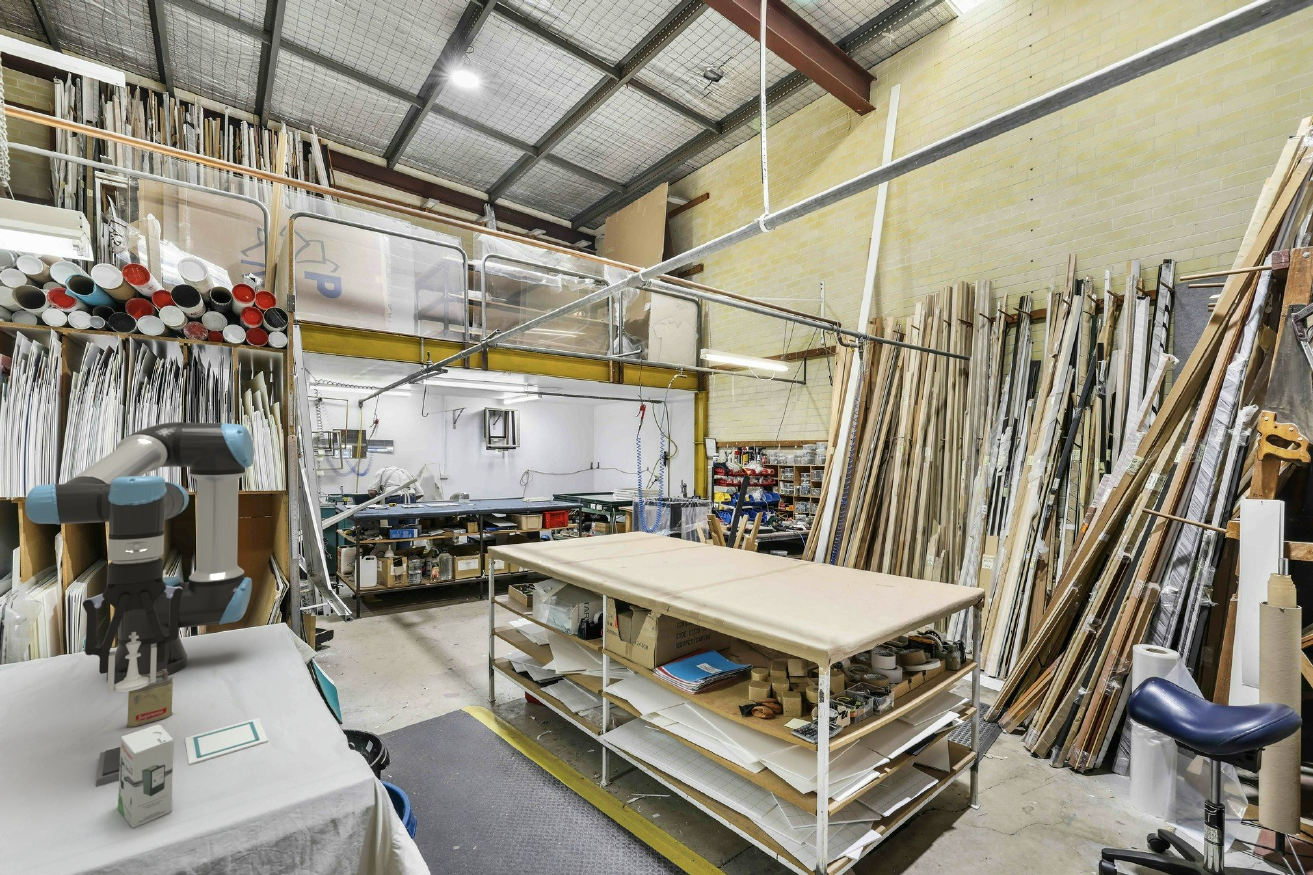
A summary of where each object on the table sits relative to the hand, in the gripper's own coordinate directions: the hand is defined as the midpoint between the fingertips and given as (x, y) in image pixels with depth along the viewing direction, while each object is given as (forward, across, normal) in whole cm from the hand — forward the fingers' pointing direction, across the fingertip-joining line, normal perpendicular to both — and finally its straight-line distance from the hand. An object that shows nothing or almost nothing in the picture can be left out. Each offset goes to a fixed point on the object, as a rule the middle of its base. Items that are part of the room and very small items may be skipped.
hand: (132, 684), depth 100 cm
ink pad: (+15, 0, 0) cm, 15 cm away
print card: (+15, +14, -2) cm, 20 cm away
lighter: (+15, +3, +19) cm, 24 cm away
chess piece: (+1, 0, 0) cm, 1 cm away
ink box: (+15, +2, -19) cm, 24 cm away
